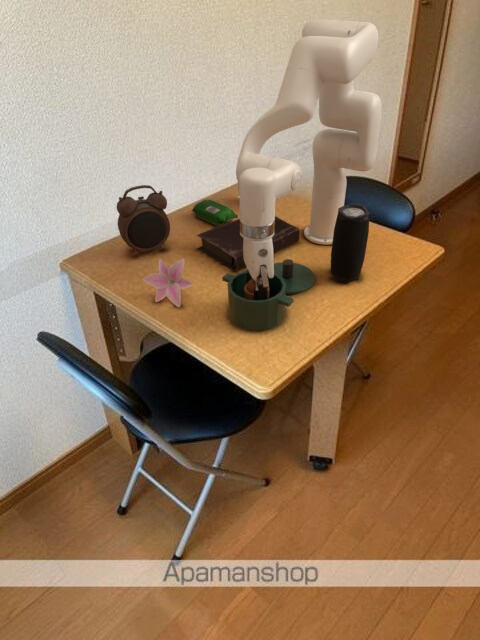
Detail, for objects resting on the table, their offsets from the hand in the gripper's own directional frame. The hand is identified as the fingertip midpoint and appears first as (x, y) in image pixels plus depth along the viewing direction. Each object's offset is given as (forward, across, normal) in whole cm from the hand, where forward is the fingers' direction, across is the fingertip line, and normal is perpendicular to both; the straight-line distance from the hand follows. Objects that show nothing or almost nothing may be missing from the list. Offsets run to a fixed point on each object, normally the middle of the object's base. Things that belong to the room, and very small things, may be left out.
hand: (256, 294), depth 119 cm
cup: (+6, +60, -14) cm, 62 cm away
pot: (+6, 0, 0) cm, 6 cm away
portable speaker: (+6, +10, -28) cm, 30 cm away
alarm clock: (+6, +38, +23) cm, 44 cm away
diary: (+6, +33, -6) cm, 34 cm away
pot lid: (+5, +12, -12) cm, 18 cm away
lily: (+6, +13, +19) cm, 24 cm away
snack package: (+6, +52, 0) cm, 52 cm away
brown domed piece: (+1, 0, 0) cm, 1 cm away
